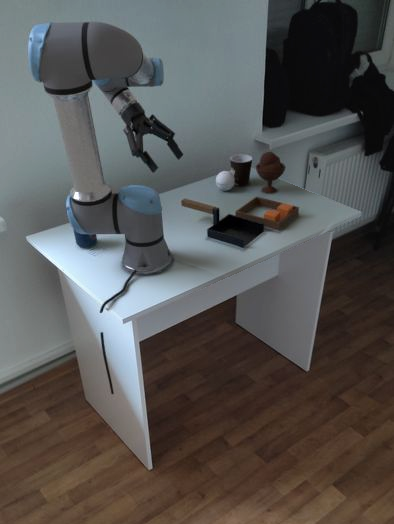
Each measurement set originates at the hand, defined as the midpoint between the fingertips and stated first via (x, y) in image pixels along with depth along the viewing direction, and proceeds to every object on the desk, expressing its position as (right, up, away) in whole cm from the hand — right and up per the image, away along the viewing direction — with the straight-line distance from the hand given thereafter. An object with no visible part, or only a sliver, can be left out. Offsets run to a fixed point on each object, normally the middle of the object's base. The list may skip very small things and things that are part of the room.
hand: (168, 163), depth 168 cm
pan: (+16, -21, +5) cm, 27 cm away
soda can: (-27, -27, +1) cm, 38 cm away
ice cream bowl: (+38, 0, +28) cm, 47 cm away
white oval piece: (+21, 0, +30) cm, 36 cm away
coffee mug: (+27, +6, +36) cm, 45 cm away
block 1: (+33, -16, +5) cm, 37 cm away
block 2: (+38, -13, +9) cm, 41 cm away
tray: (+34, -15, +10) cm, 39 cm away
